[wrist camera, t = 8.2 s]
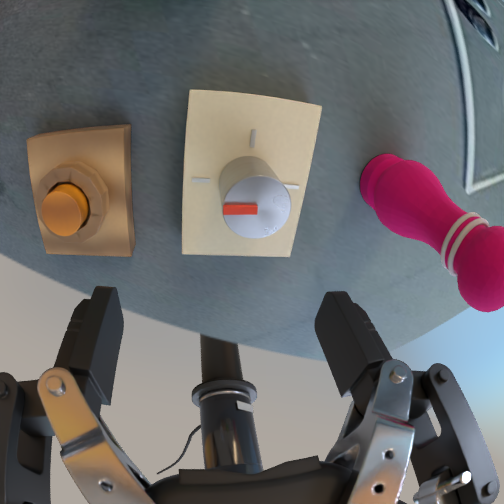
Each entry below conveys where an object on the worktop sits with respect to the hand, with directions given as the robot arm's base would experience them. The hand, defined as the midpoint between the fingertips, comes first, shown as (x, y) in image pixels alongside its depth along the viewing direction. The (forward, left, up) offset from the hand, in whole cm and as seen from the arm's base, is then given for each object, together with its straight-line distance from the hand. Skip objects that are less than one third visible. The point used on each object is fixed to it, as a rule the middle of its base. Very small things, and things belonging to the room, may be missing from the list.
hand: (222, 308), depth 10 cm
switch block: (-2, +12, -16) cm, 20 cm away
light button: (-2, +12, -13) cm, 18 cm away
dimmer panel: (0, -3, -16) cm, 16 cm away
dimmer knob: (0, -3, -13) cm, 13 cm away
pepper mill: (+1, -18, -16) cm, 24 cm away
